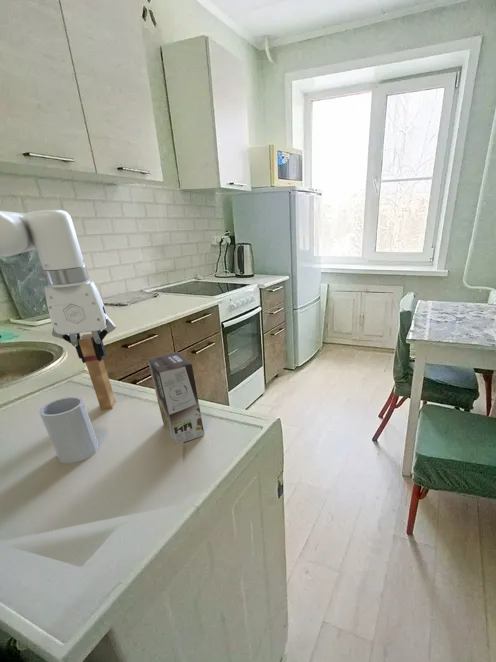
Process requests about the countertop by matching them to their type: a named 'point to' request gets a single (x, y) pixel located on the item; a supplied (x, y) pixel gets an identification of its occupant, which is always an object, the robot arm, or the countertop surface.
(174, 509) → the countertop surface
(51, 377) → the countertop surface
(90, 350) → the chopstick bundle
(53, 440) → the light gray cup
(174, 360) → the coffee box
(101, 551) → the countertop surface
